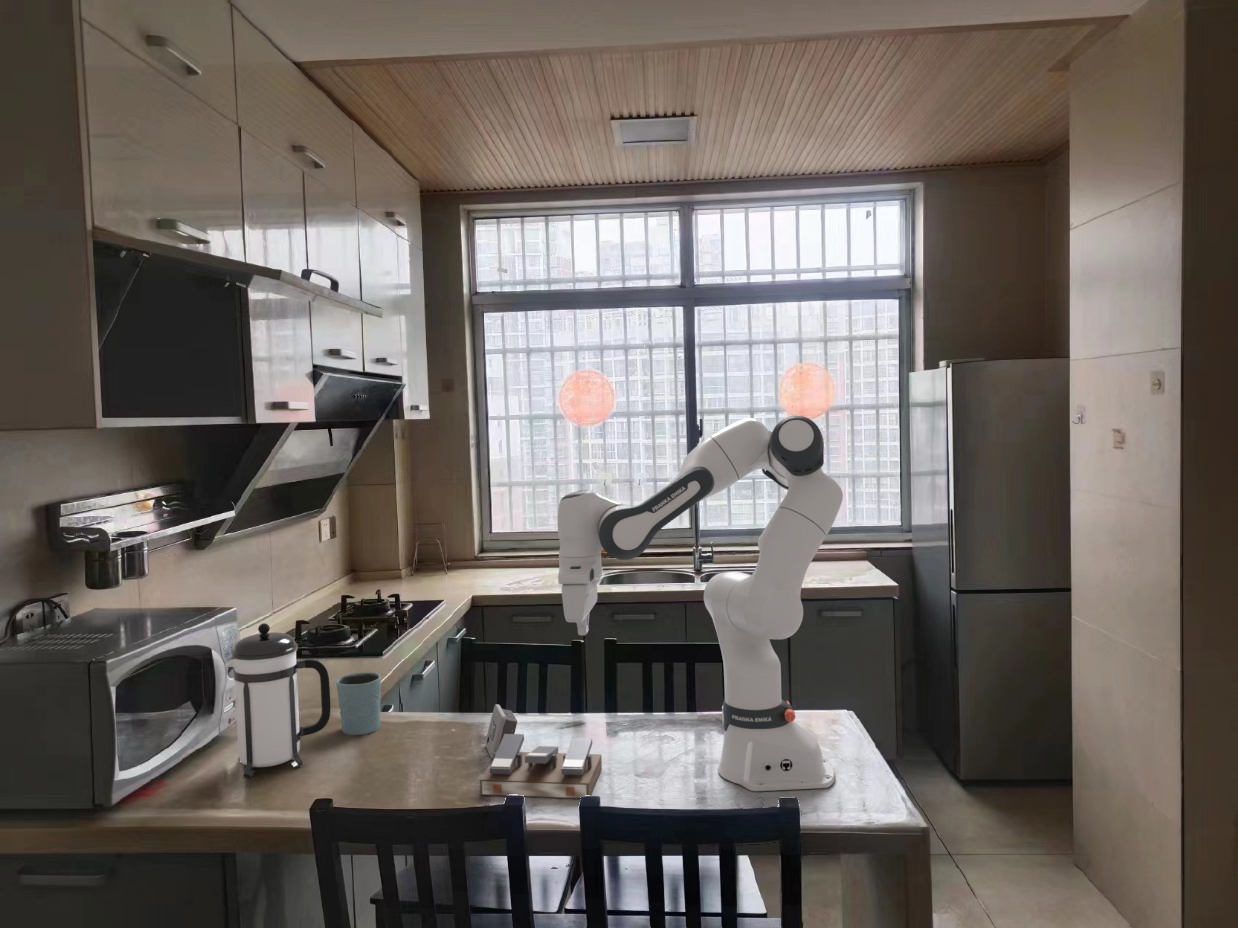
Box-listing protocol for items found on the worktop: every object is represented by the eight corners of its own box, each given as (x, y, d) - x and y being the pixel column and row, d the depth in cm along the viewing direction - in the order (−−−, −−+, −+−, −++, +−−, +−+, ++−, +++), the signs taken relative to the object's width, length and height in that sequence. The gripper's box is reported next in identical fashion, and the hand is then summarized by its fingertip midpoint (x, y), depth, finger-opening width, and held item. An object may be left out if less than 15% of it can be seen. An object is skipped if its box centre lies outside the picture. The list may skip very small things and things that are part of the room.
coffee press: (277, 783, 171) (270, 634, 170) (215, 774, 177) (207, 629, 175) (334, 751, 187) (328, 615, 186) (275, 744, 193) (269, 611, 192)
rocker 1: (524, 739, 174) (523, 733, 174) (510, 774, 164) (509, 768, 164) (505, 738, 175) (504, 733, 175) (490, 773, 165) (489, 767, 164)
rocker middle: (558, 752, 173) (558, 745, 173) (545, 763, 162) (545, 756, 163) (538, 752, 174) (538, 745, 174) (524, 762, 163) (525, 755, 163)
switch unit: (601, 768, 174) (601, 742, 174) (588, 800, 160) (588, 771, 159) (501, 765, 177) (500, 739, 177) (479, 796, 163) (478, 767, 162)
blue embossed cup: (366, 738, 195) (363, 686, 195) (328, 734, 198) (326, 682, 198) (391, 723, 205) (389, 673, 204) (355, 719, 208) (353, 670, 207)
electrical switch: (484, 745, 189) (487, 703, 189) (508, 744, 190) (510, 702, 190) (491, 761, 180) (494, 717, 180) (515, 760, 181) (518, 716, 181)
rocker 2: (592, 743, 172) (592, 737, 172) (582, 774, 162) (582, 768, 161) (572, 742, 173) (572, 736, 173) (561, 774, 162) (561, 767, 162)
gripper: (574, 560, 190) (577, 621, 191) (556, 577, 170) (559, 646, 171) (602, 559, 189) (605, 621, 190) (587, 576, 169) (590, 646, 170)
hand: (583, 633), depth 180 cm, fingers closed
